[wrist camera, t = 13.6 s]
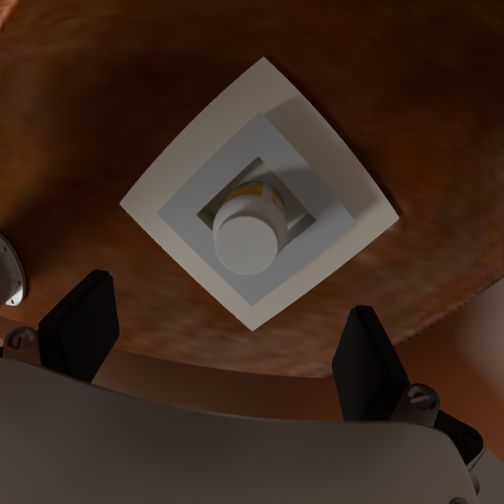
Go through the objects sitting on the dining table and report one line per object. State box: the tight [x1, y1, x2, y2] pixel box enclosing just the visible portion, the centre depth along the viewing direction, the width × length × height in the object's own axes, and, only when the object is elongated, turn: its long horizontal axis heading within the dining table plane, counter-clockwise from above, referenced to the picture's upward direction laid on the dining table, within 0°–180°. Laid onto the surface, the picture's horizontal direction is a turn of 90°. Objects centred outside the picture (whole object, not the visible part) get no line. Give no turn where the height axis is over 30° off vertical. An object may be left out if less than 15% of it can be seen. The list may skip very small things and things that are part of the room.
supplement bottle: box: [213, 181, 288, 275], centre depth 23 cm, size 5×5×10 cm
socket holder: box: [119, 57, 399, 331], centre depth 26 cm, size 20×20×4 cm
